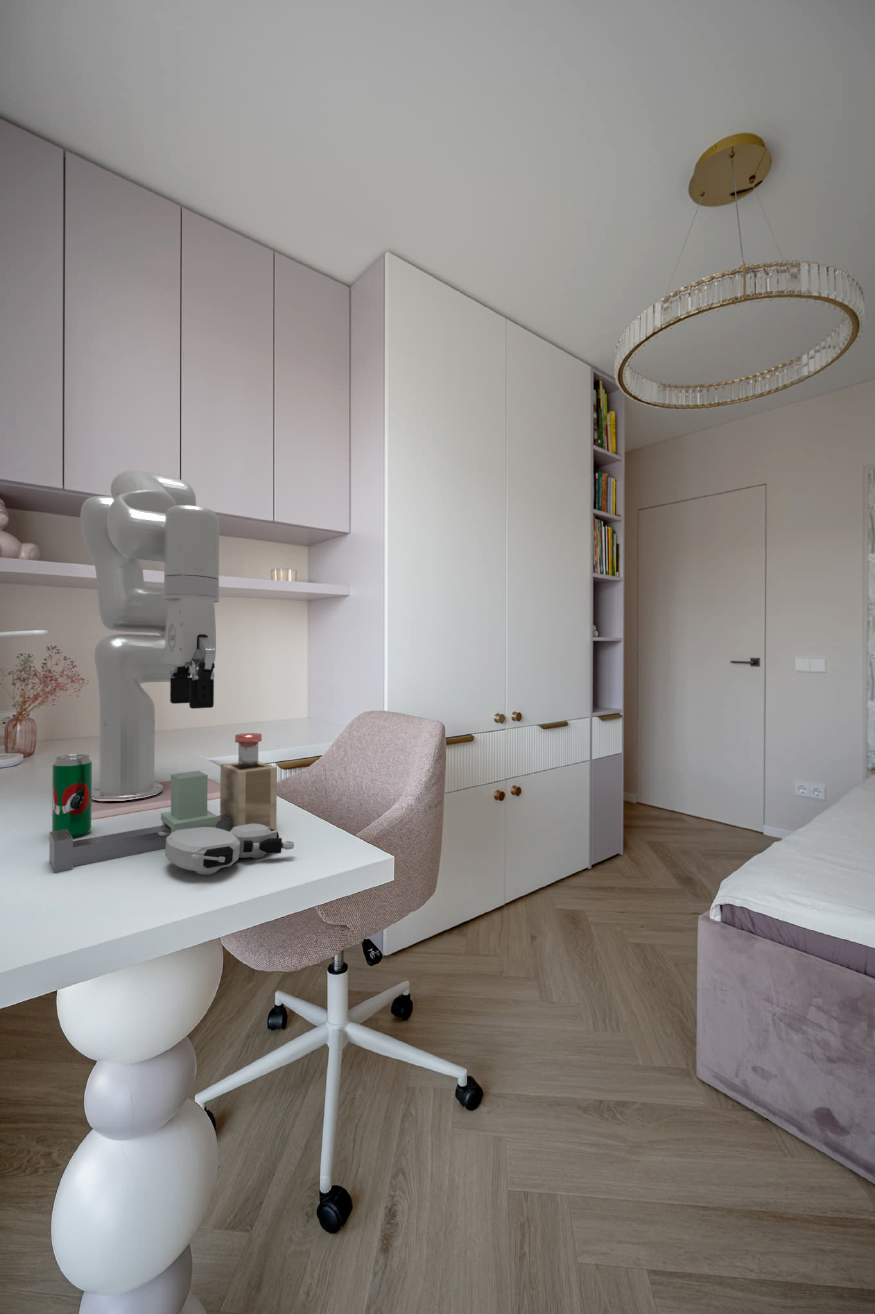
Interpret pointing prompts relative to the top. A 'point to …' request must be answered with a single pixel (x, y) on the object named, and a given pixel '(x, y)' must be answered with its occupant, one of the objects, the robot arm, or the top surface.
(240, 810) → the open wooden box
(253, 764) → the plunger
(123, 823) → the top surface
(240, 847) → the robot toy
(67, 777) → the soda can
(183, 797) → the carriage
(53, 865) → the rail
